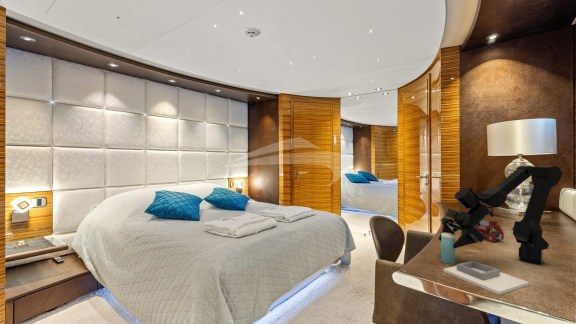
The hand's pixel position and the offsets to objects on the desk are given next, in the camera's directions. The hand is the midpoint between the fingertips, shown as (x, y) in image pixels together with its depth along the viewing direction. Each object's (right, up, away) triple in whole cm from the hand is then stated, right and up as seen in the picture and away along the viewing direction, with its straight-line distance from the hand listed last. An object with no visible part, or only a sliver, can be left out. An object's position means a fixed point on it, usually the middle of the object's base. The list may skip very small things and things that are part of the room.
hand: (446, 243), depth 105 cm
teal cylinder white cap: (+1, -7, 0) cm, 7 cm away
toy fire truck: (+39, -7, +28) cm, 49 cm away
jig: (+4, -7, -15) cm, 17 cm away
